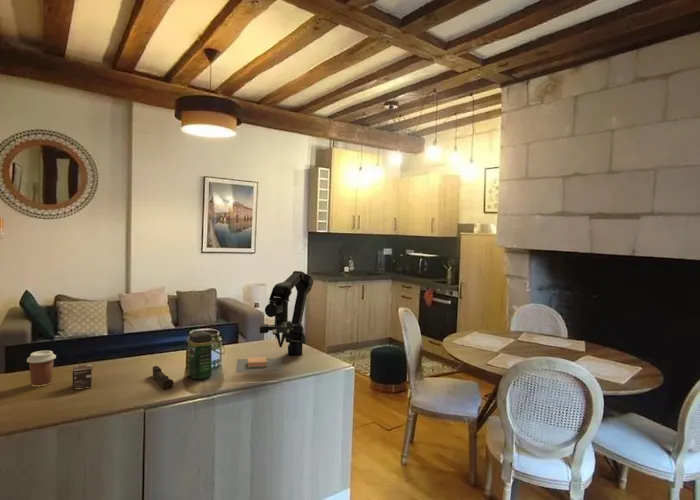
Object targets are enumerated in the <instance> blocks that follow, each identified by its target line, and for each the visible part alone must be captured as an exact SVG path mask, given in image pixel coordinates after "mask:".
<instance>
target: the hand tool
mask: <svg viewBox="0 0 700 500" xmlns="http://www.w3.org/2000/svg"><path fill="white" fill-rule="evenodd" d="M152 375H153V376H152V377H153V379H154V380H155V381H157V382H158V383H159V385H160V386H161V387H162V388H161V389H163V391H167V389H168V390H171V389H172V388H174V380H173V379H170V378H169V375H166V374H165V373H164V372H162V368H161V367H160V366H158V365H154V366H153V367H152Z"/></svg>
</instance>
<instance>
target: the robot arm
mask: <svg viewBox="0 0 700 500" xmlns="http://www.w3.org/2000/svg"><path fill="white" fill-rule="evenodd" d="M313 285H314V279H313V277H312V276H310V275H308V274H307V273H305V272H304V271H303V270H294V271H293V272H292V274H291V275H290V276H289V277H287V278H286V279H285V280H284V281H282V282H278V283H276V284H275V285H274V286H273V288H272V290H271V293H270V297H269V299H268V300H269V302H268V304H267V305H266V306H265V307H264V314H265V315H266V316H267V317H269V318H274V325H269V323H264V324H263V323H261V324H259V334H267V333H269V332H270V331H271V332H272V335H275V338H276V340H277V343H278V346H279V348H282V347H283V344H284V341H285V343H288V344H287V355H289V357H299V356H301V357H302V356H304V355H303V344H306V341H307V337H306V335H305V333H304V331H305V329H304V327H303V324H302V322H303V315H304V312H305V306H306V300H307V296H308V294H309V293H310V292H311V290H312V287H313ZM294 287H295V289H296V298H295V302H294V308H293V313H292V318H291V320H290V321H289V320H288V318H289V316H288V315H289V313H288V312H289V302H290V297H291V295H292V289H294Z"/></svg>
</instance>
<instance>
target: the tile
mask: <svg viewBox="0 0 700 500" xmlns="http://www.w3.org/2000/svg"><path fill="white" fill-rule="evenodd" d="M266 358H267V356H262V357H261V356H257V357H256V356H255V357H247V359H248V368H252V367H266V366H267V360H266Z"/></svg>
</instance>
